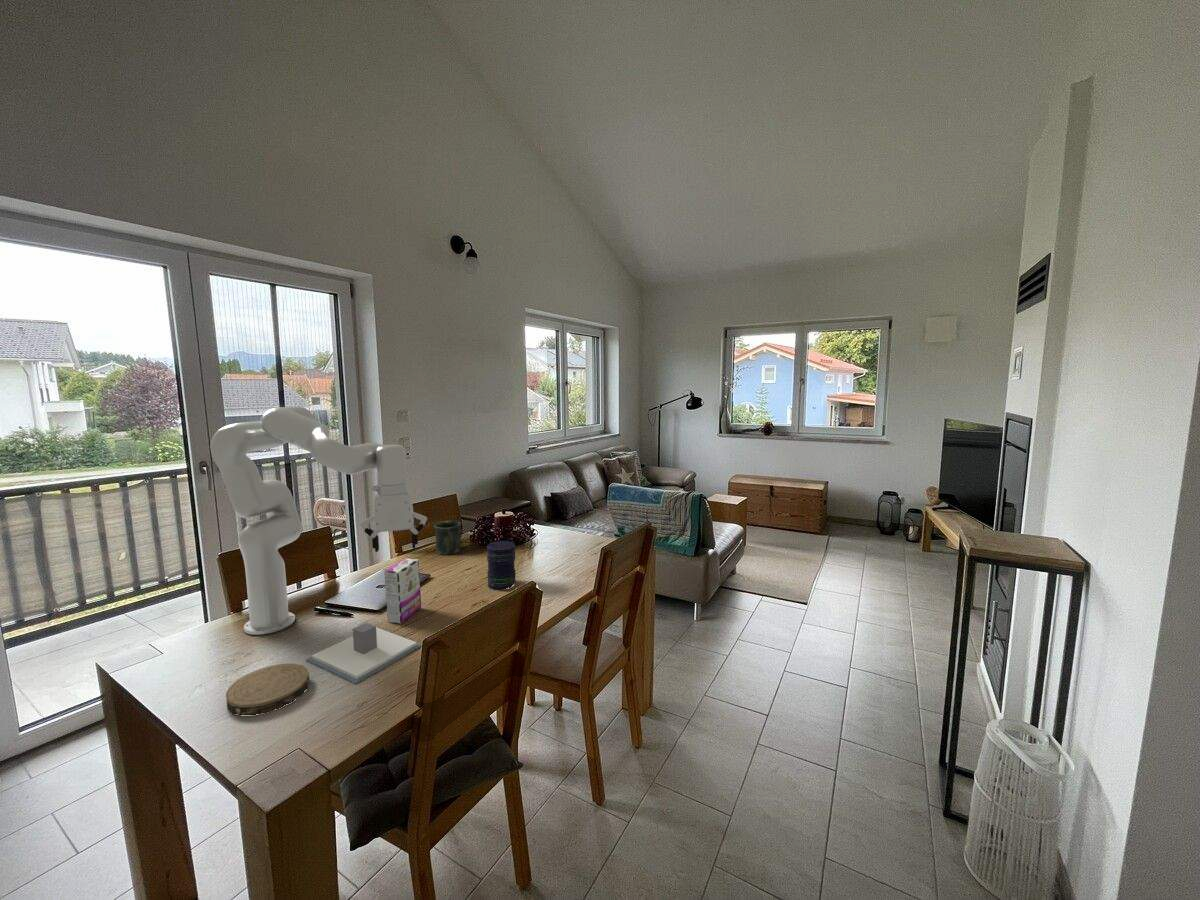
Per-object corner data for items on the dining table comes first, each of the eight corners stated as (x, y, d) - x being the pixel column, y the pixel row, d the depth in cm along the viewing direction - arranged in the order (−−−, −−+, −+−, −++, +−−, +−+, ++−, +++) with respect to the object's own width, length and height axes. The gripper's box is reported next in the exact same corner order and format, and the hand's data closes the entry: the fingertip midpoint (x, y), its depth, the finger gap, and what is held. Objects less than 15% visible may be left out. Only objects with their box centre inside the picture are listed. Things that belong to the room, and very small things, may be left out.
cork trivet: (264, 672, 123) (263, 661, 122) (324, 677, 121) (323, 665, 121) (207, 714, 107) (206, 702, 106) (275, 720, 105) (274, 707, 105)
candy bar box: (407, 606, 159) (405, 557, 156) (421, 608, 158) (419, 558, 156) (386, 622, 148) (383, 570, 146) (401, 624, 147) (398, 572, 145)
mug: (429, 553, 207) (428, 526, 206) (451, 543, 221) (450, 517, 219) (450, 557, 204) (449, 529, 202) (471, 546, 217) (471, 520, 216)
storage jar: (518, 580, 181) (518, 541, 179) (511, 591, 171) (510, 550, 169) (492, 579, 182) (491, 540, 180) (483, 590, 172) (482, 548, 170)
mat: (306, 661, 127) (305, 659, 127) (374, 628, 145) (374, 626, 144) (355, 684, 118) (355, 682, 118) (422, 646, 135) (422, 644, 135)
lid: (312, 658, 127) (310, 633, 127) (373, 628, 143) (372, 606, 142) (356, 679, 119) (355, 652, 118) (416, 645, 135) (415, 621, 134)
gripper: (356, 494, 130) (360, 556, 132) (425, 490, 136) (428, 549, 138) (360, 488, 137) (363, 547, 139) (425, 484, 143) (428, 541, 145)
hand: (395, 548), depth 139 cm, fingers open, 9 cm apart
